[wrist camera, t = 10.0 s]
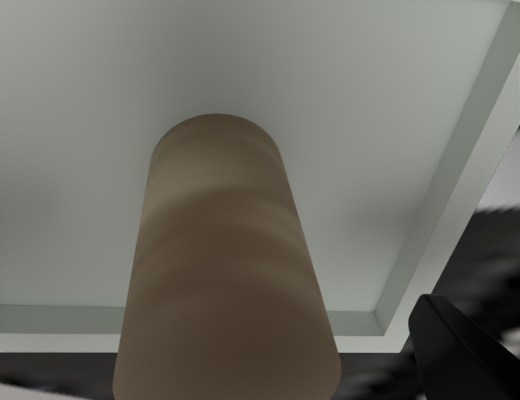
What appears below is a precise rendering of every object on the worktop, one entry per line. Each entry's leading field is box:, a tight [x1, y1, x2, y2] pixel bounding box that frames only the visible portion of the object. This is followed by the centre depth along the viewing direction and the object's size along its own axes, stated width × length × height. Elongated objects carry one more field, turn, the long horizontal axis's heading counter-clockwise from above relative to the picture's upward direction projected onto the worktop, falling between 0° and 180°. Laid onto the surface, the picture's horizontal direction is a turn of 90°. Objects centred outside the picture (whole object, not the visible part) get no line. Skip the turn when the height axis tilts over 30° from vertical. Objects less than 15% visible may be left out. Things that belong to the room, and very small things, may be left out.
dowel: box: [113, 114, 342, 400], centre depth 11 cm, size 4×4×7 cm
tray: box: [0, 0, 520, 353], centre depth 13 cm, size 16×14×2 cm
